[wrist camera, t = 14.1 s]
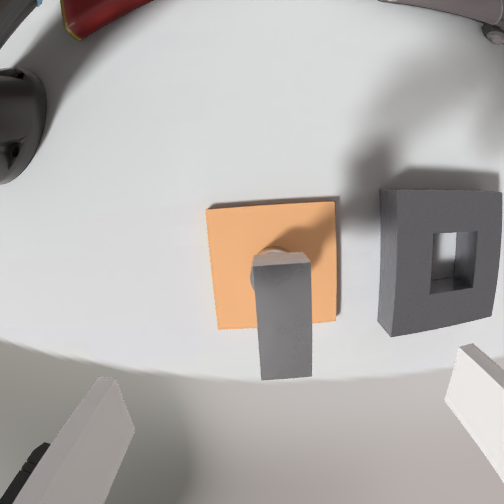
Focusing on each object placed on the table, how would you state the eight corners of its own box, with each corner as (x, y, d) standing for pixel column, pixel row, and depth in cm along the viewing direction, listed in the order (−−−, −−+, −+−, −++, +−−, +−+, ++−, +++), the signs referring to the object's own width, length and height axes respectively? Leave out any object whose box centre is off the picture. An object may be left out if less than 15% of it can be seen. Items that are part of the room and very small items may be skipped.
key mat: (206, 209, 29) (205, 209, 28) (332, 201, 29) (334, 201, 28) (219, 326, 32) (218, 329, 31) (334, 317, 31) (335, 320, 30)
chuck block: (379, 189, 28) (396, 190, 25) (480, 190, 28) (502, 192, 24) (377, 321, 31) (390, 337, 27) (473, 304, 31) (491, 316, 27)
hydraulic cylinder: (553, 68, 21) (589, 54, 12) (335, 21, 28) (341, -25, 18) (540, 29, 20) (571, 10, 10) (326, -20, 27) (327, -67, 17)
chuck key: (248, 234, 29) (239, 267, 16) (295, 230, 29) (324, 261, 16) (253, 305, 30) (249, 380, 17) (298, 302, 30) (323, 374, 17)
